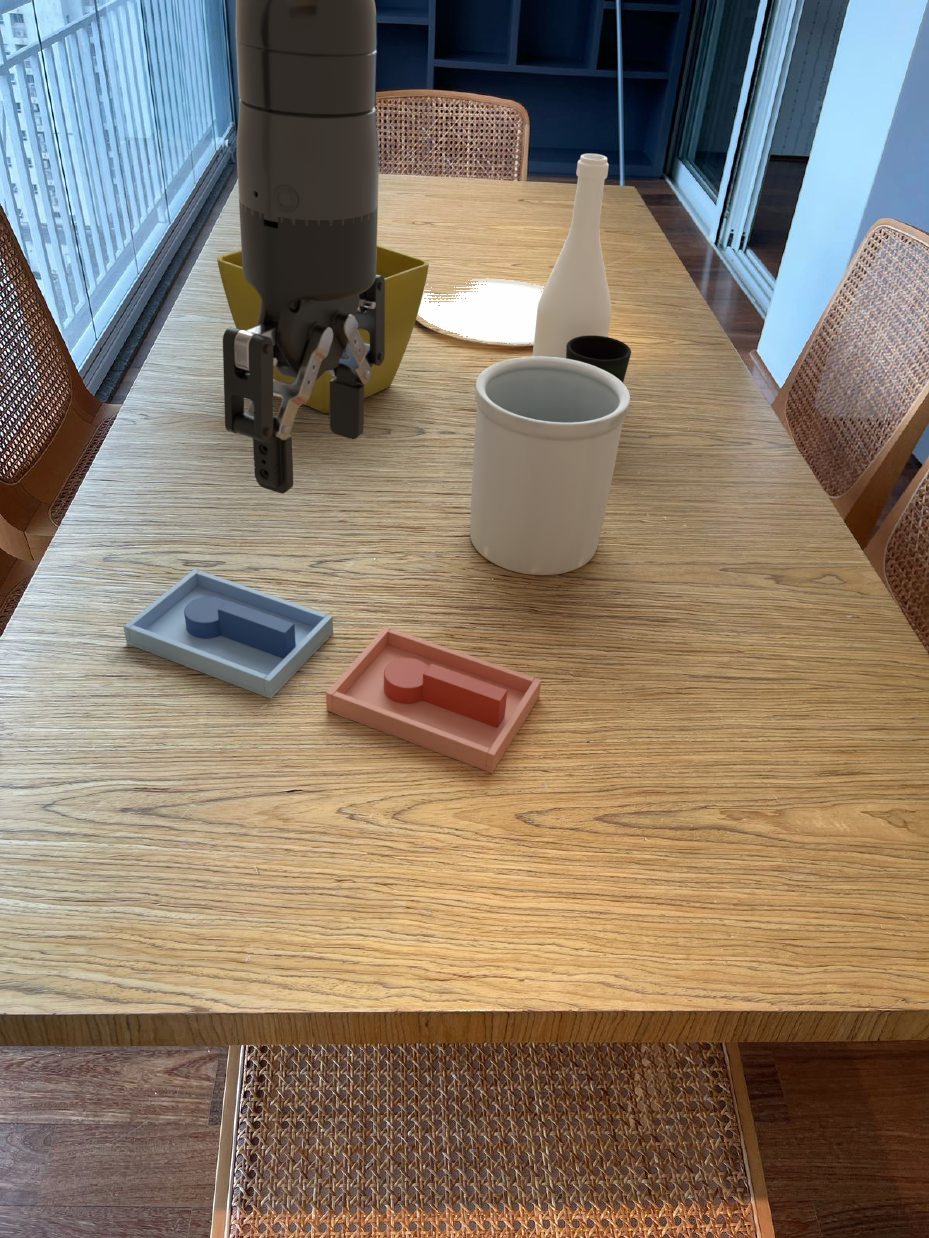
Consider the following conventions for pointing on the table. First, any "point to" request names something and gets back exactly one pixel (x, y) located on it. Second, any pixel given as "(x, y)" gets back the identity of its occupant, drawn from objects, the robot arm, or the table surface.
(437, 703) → the spoon red
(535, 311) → the plate
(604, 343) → the cup
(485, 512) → the utensil holder
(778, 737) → the table surface
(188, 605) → the spoon blue
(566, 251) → the wine bottle
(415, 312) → the flower pot
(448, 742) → the tray pink
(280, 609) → the tray blue
